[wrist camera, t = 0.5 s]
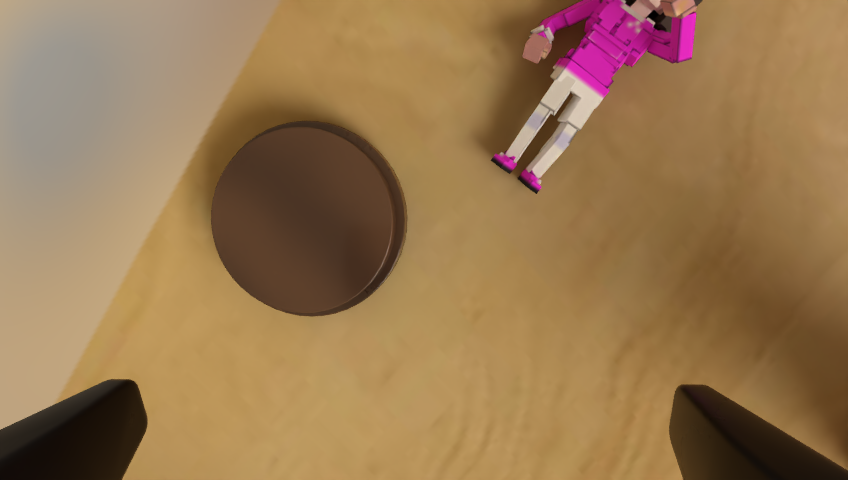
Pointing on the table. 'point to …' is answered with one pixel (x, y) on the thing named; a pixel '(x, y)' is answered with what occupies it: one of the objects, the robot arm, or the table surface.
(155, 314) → the table surface
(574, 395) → the table surface
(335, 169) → the stand
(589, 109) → the character figurine
